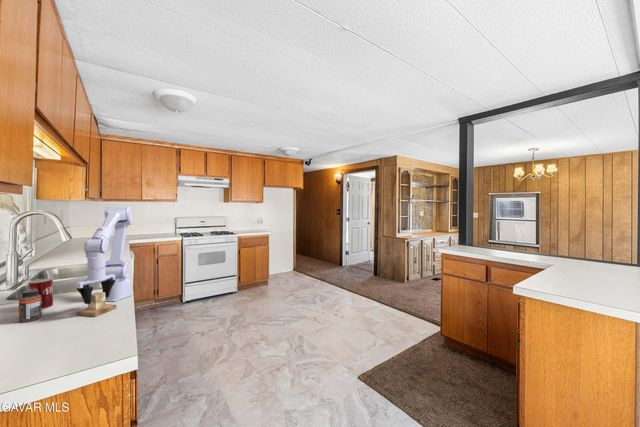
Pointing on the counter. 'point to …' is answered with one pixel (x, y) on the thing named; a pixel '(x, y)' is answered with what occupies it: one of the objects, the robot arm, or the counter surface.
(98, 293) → the beech block
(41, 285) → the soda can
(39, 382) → the counter surface
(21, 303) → the supplement bottle
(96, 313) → the base
